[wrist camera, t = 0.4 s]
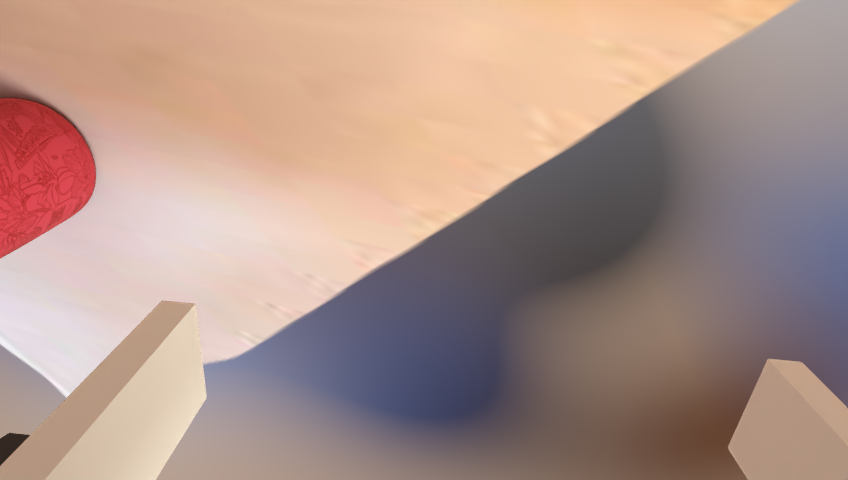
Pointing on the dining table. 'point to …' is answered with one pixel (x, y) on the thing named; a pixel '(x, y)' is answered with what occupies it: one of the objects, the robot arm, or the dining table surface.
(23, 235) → the wine bottle
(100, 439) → the robot arm
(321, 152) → the dining table surface
